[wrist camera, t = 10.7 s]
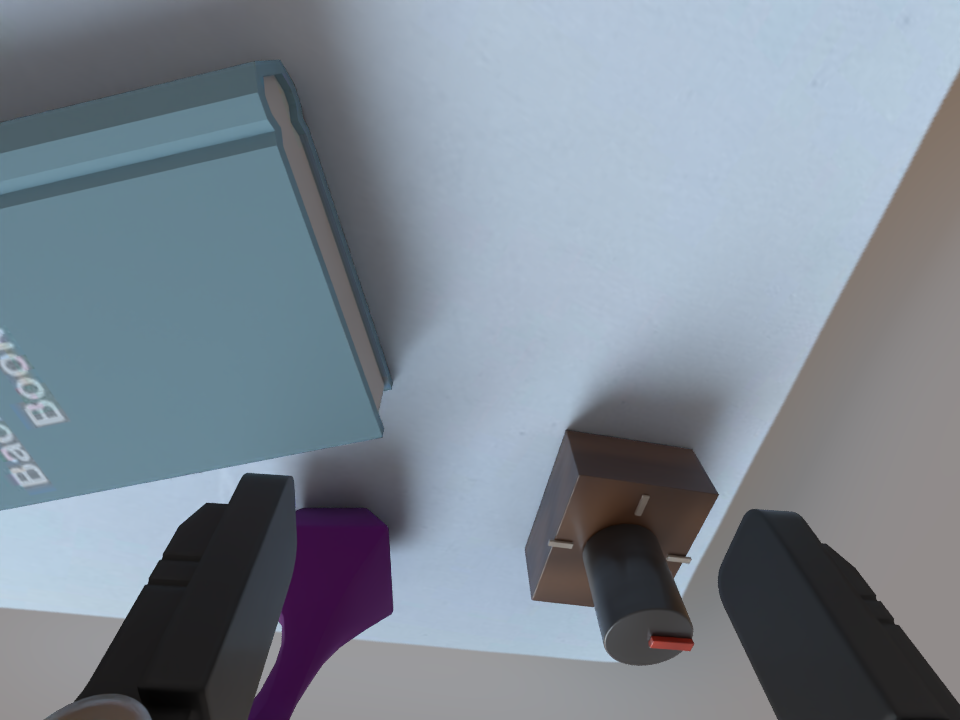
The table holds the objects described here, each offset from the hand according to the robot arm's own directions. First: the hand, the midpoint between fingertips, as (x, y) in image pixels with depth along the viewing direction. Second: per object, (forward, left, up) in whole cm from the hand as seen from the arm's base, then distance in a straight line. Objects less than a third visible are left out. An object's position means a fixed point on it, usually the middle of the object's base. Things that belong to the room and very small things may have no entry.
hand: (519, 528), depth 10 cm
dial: (+6, +19, -15) cm, 25 cm away
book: (+15, -9, -20) cm, 27 cm away
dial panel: (+6, +19, -20) cm, 28 cm away
